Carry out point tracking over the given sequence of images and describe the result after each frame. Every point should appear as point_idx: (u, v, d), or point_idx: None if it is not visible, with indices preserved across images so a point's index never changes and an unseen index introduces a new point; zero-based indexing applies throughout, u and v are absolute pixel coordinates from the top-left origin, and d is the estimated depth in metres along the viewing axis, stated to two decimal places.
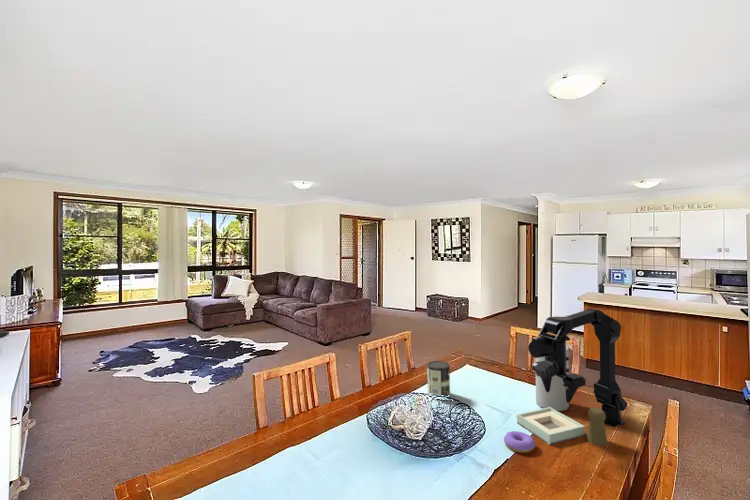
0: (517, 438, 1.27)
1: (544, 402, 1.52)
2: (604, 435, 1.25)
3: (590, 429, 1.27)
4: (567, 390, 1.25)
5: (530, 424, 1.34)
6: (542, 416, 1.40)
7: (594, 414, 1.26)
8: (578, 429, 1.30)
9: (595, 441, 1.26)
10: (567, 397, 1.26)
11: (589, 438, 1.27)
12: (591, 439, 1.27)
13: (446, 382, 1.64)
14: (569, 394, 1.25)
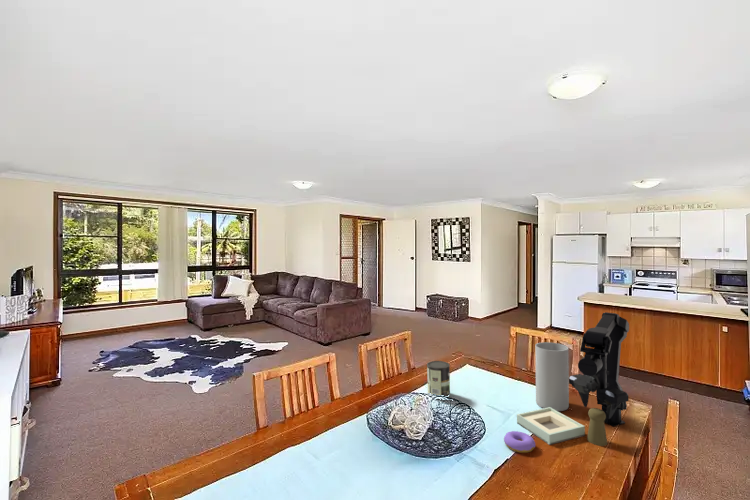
0: (517, 438, 1.27)
1: (544, 402, 1.52)
2: (604, 435, 1.25)
3: (590, 429, 1.27)
4: (609, 406, 1.22)
5: (530, 424, 1.34)
6: (542, 416, 1.40)
7: (594, 414, 1.26)
8: (578, 429, 1.30)
9: (595, 441, 1.26)
10: (608, 413, 1.22)
11: (589, 438, 1.27)
12: (591, 439, 1.27)
13: (446, 382, 1.64)
14: (611, 410, 1.22)
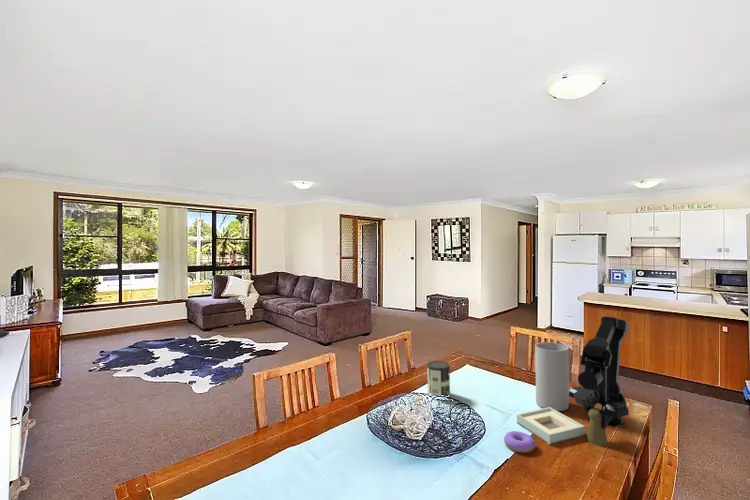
0: (517, 438, 1.27)
1: (544, 402, 1.52)
2: (604, 435, 1.25)
3: (590, 429, 1.27)
4: (603, 417, 1.24)
5: (530, 424, 1.34)
6: (542, 416, 1.40)
7: (594, 414, 1.26)
8: (578, 429, 1.30)
9: (595, 441, 1.26)
10: (603, 423, 1.24)
11: (589, 438, 1.27)
12: (591, 439, 1.27)
13: (446, 382, 1.64)
14: (605, 421, 1.24)
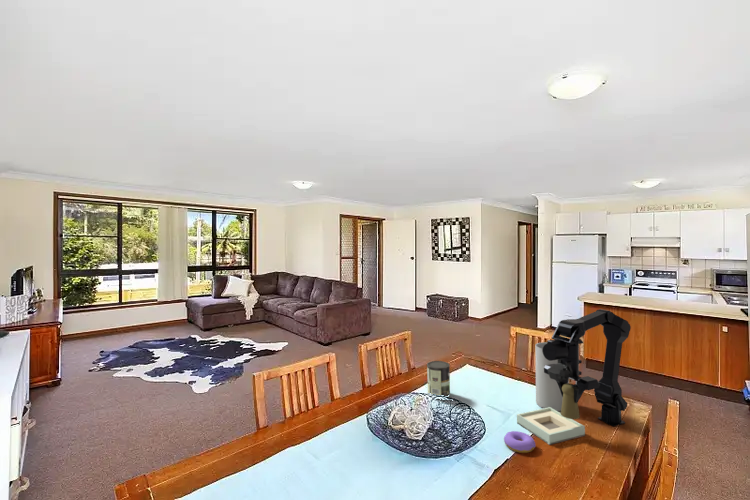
0: (517, 438, 1.27)
1: (544, 402, 1.52)
2: (576, 409, 1.30)
3: (563, 403, 1.31)
4: (575, 390, 1.28)
5: (530, 424, 1.34)
6: (542, 416, 1.40)
7: (567, 389, 1.30)
8: (578, 429, 1.30)
9: (568, 415, 1.30)
10: (575, 397, 1.29)
11: (562, 412, 1.31)
12: (564, 413, 1.31)
13: (446, 382, 1.64)
14: (577, 394, 1.28)
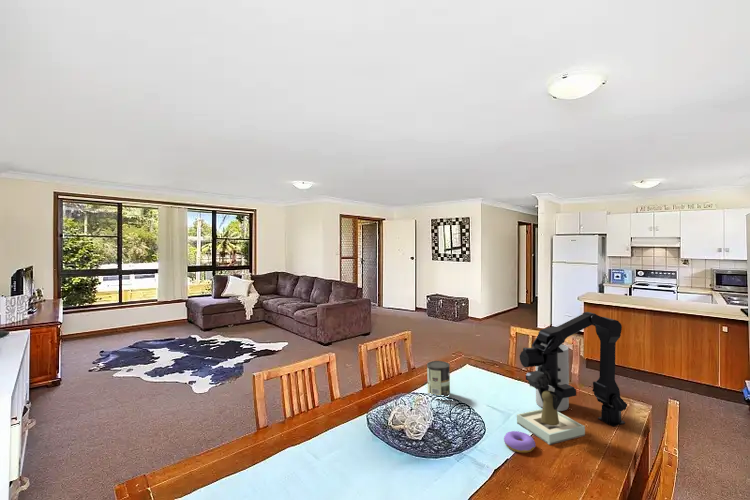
0: (517, 438, 1.27)
1: None
2: (556, 415, 1.34)
3: (543, 410, 1.36)
4: (554, 398, 1.32)
5: (530, 424, 1.34)
6: None
7: (546, 396, 1.34)
8: (578, 429, 1.30)
9: (547, 421, 1.34)
10: (554, 404, 1.33)
11: (542, 418, 1.36)
12: (543, 419, 1.35)
13: (446, 382, 1.64)
14: (556, 401, 1.32)
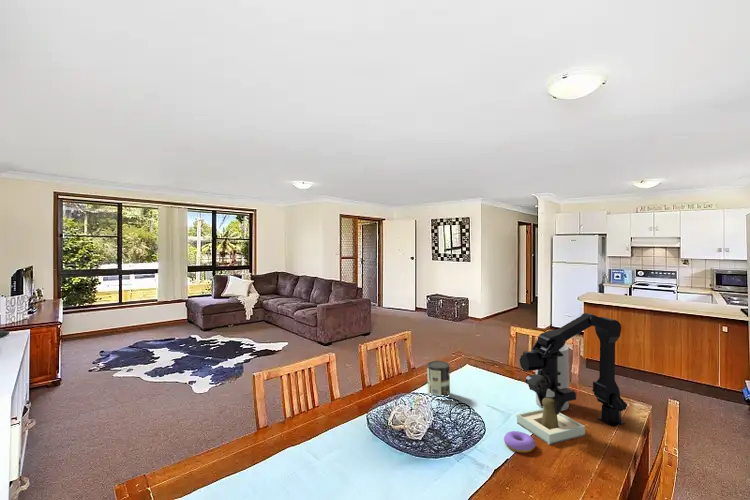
0: (517, 438, 1.27)
1: None
2: (556, 422, 1.34)
3: (543, 416, 1.36)
4: (556, 402, 1.31)
5: (530, 424, 1.34)
6: None
7: (546, 403, 1.34)
8: (578, 429, 1.30)
9: None
10: (556, 409, 1.32)
11: None
12: (544, 426, 1.35)
13: (446, 382, 1.64)
14: (558, 406, 1.31)
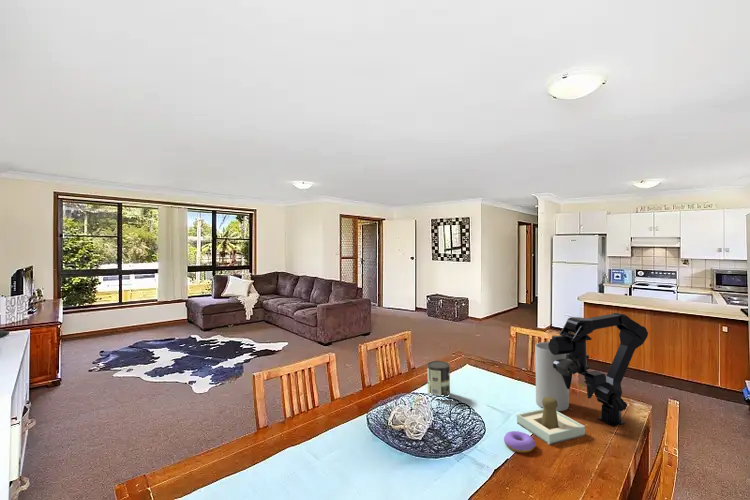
0: (517, 438, 1.27)
1: None
2: (556, 422, 1.34)
3: (543, 416, 1.36)
4: (588, 386, 1.32)
5: (530, 424, 1.34)
6: None
7: (546, 403, 1.34)
8: (578, 429, 1.30)
9: None
10: (588, 393, 1.33)
11: None
12: (544, 426, 1.35)
13: (446, 382, 1.64)
14: (590, 390, 1.32)
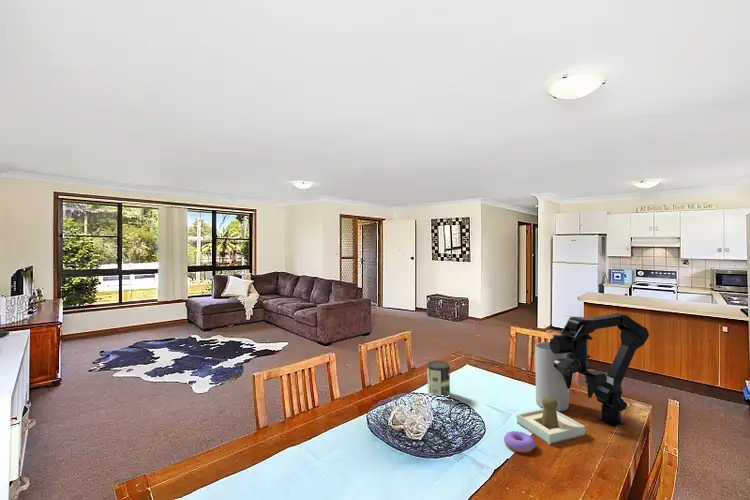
0: (517, 438, 1.27)
1: None
2: (556, 422, 1.34)
3: (543, 416, 1.36)
4: (589, 386, 1.32)
5: (530, 424, 1.34)
6: None
7: (546, 403, 1.34)
8: (578, 429, 1.30)
9: None
10: (589, 393, 1.33)
11: None
12: (544, 426, 1.35)
13: (446, 382, 1.64)
14: (591, 390, 1.32)
